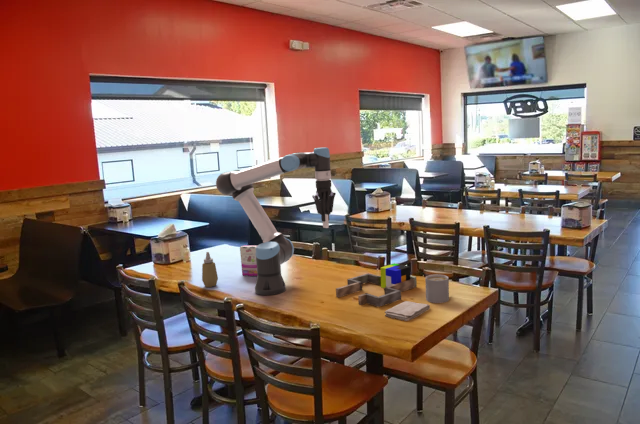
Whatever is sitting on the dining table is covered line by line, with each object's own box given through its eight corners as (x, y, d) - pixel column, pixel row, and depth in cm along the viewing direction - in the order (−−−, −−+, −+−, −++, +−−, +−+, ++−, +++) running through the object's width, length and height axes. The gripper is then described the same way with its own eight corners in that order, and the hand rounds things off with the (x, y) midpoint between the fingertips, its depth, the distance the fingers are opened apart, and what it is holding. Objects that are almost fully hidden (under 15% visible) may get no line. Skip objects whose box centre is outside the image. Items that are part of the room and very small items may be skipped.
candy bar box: (264, 274, 291) (261, 245, 288) (259, 276, 286) (257, 247, 284) (246, 273, 295) (244, 244, 293) (241, 275, 291) (239, 246, 288)
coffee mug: (443, 304, 227) (443, 281, 225) (422, 301, 233) (421, 279, 231) (455, 295, 238) (454, 273, 236) (434, 292, 243) (434, 271, 242)
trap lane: (372, 309, 226) (372, 297, 225) (326, 293, 251) (325, 283, 250) (428, 290, 247) (428, 279, 247) (380, 277, 273) (380, 267, 272)
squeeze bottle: (221, 284, 276) (218, 250, 274) (212, 288, 269) (209, 254, 266) (209, 283, 280) (205, 250, 277) (199, 287, 273) (196, 253, 270)
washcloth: (383, 317, 217) (382, 310, 216) (405, 305, 230) (405, 298, 230) (408, 323, 209) (408, 315, 209) (430, 309, 223) (430, 302, 222)
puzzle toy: (396, 291, 248) (396, 271, 247) (381, 287, 256) (380, 267, 254) (410, 286, 254) (410, 266, 253) (395, 282, 262) (394, 263, 260)
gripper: (317, 181, 248) (320, 230, 252) (338, 178, 256) (341, 226, 260) (307, 180, 254) (310, 228, 258) (328, 178, 262) (331, 224, 266)
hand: (325, 227), depth 259 cm, fingers closed
